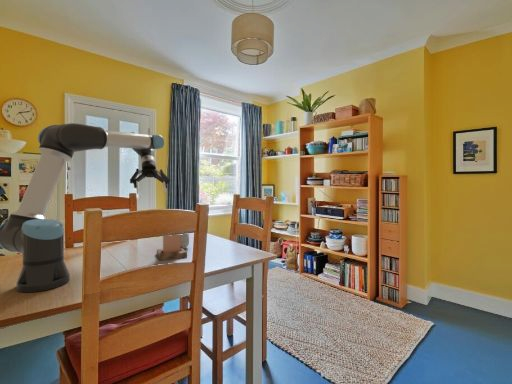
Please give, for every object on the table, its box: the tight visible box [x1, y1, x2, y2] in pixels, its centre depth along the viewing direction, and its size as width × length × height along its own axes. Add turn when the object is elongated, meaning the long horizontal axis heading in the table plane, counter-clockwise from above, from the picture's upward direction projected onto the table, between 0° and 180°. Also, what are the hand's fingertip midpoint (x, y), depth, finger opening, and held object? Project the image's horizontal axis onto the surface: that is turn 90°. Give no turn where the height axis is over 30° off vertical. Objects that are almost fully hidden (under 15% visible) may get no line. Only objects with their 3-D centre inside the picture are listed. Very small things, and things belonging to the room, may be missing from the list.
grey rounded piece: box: [180, 233, 190, 250], centre depth 150 cm, size 14×11×8 cm
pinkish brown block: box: [162, 235, 180, 253], centre depth 134 cm, size 8×4×15 cm, turn 118°
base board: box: [156, 247, 188, 261], centre depth 134 cm, size 13×12×2 cm
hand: (151, 191), depth 138 cm, fingers open, 13 cm apart
